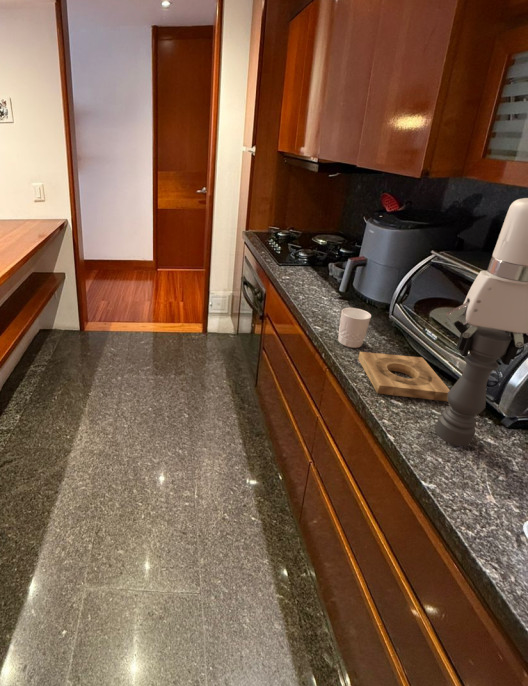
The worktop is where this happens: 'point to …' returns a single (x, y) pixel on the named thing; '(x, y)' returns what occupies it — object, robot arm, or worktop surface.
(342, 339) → the white cup
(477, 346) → the candle holder
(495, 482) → the worktop surface
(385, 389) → the base pad
